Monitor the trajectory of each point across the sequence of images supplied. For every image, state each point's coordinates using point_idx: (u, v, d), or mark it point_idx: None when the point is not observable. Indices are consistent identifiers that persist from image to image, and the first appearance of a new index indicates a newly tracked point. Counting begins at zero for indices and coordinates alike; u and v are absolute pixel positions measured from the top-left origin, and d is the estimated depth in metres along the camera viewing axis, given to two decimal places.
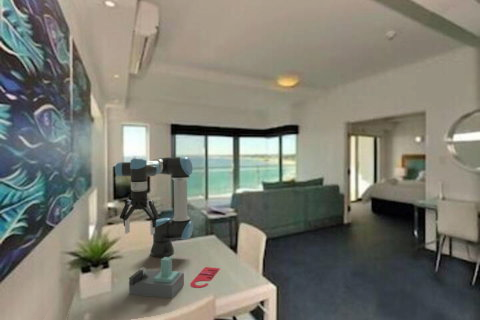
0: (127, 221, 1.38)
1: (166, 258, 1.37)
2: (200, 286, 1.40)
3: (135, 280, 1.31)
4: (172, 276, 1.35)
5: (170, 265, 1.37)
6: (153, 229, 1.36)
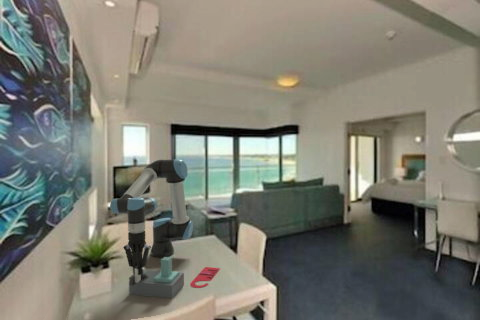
0: None
1: (166, 258, 1.37)
2: (200, 286, 1.40)
3: None
4: (172, 276, 1.35)
5: (170, 265, 1.37)
6: (139, 276, 1.31)
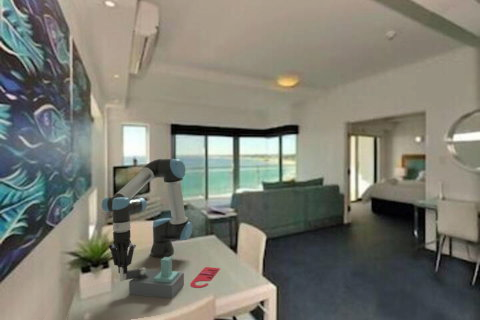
0: None
1: (166, 258, 1.37)
2: (200, 286, 1.40)
3: (126, 277, 1.34)
4: (172, 276, 1.35)
5: (170, 265, 1.37)
6: (124, 275, 1.32)
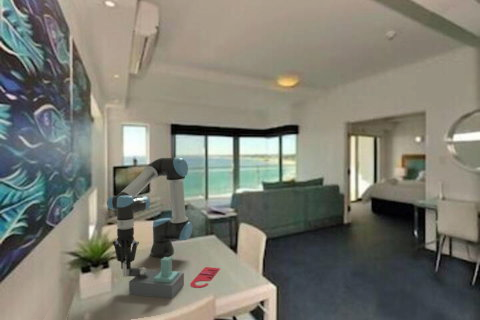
0: None
1: (166, 258, 1.37)
2: (200, 286, 1.40)
3: None
4: (172, 276, 1.35)
5: (170, 265, 1.37)
6: (127, 271, 1.37)
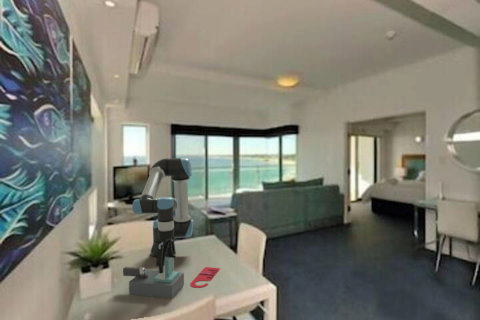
0: None
1: (166, 258, 1.37)
2: (200, 286, 1.40)
3: (127, 273, 1.39)
4: (172, 276, 1.35)
5: (170, 265, 1.37)
6: (161, 275, 1.32)
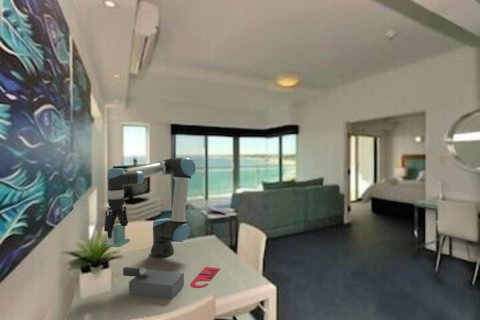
0: None
1: (116, 225, 1.46)
2: (200, 286, 1.40)
3: (127, 273, 1.39)
4: (121, 242, 1.44)
5: (120, 232, 1.45)
6: (110, 240, 1.40)
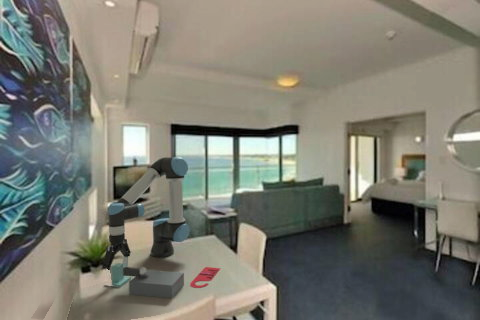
0: (124, 258, 1.52)
1: (117, 264, 1.46)
2: (200, 286, 1.40)
3: (127, 273, 1.39)
4: (122, 281, 1.44)
5: (121, 271, 1.46)
6: None
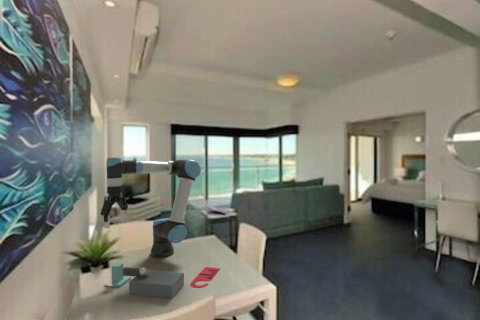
0: (121, 211, 1.59)
1: (117, 264, 1.46)
2: (200, 286, 1.40)
3: (127, 273, 1.39)
4: (122, 281, 1.44)
5: (121, 271, 1.46)
6: (106, 223, 1.45)
